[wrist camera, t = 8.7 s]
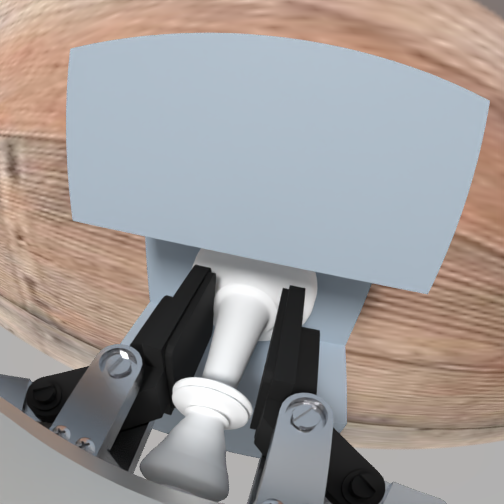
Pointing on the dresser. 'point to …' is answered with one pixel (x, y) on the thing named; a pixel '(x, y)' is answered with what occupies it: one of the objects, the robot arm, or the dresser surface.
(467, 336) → the dresser surface
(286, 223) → the slot block
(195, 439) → the chess piece
